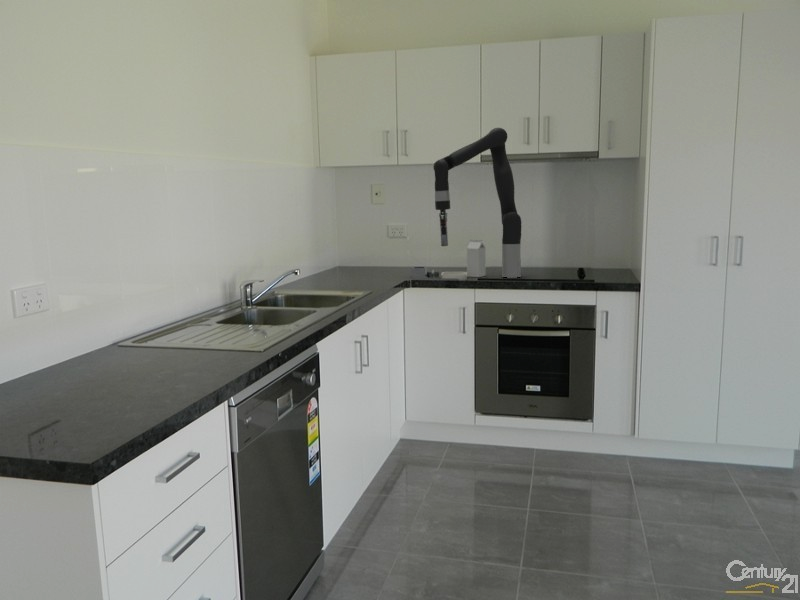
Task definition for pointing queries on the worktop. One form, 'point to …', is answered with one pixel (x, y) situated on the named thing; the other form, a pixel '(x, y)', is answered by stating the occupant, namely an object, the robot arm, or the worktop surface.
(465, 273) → the tray
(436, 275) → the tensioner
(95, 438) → the worktop surface
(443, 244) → the lock pin
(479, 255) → the milk carton
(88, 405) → the worktop surface
